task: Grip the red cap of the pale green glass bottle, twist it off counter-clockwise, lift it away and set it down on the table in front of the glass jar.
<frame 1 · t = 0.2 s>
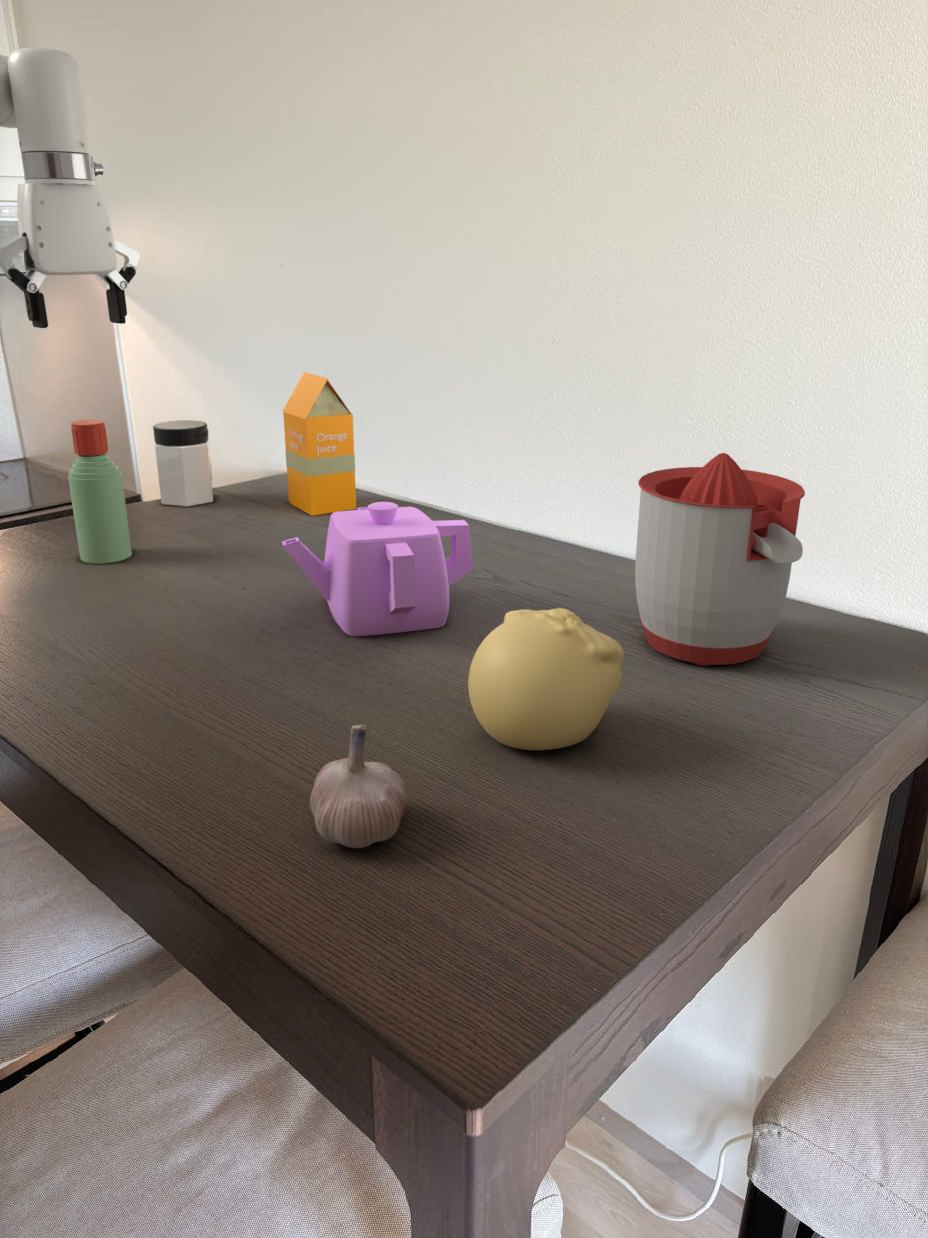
hand: (80, 324, 118), 29 cm above the table, tool pointing down, fingers open, 9 cm apart
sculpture: (539, 734, 81), on the table
orange juice: (322, 507, 149), on the table
bottle: (106, 556, 125), on the table
teakettle: (380, 611, 107), on the table
jar: (188, 501, 152), on the table
citrus juicer: (709, 649, 98), on the table
cap: (88, 425, 119), point 17 cm above the table, screwed on, not yet turned
garlic bulb: (361, 829, 68), on the table
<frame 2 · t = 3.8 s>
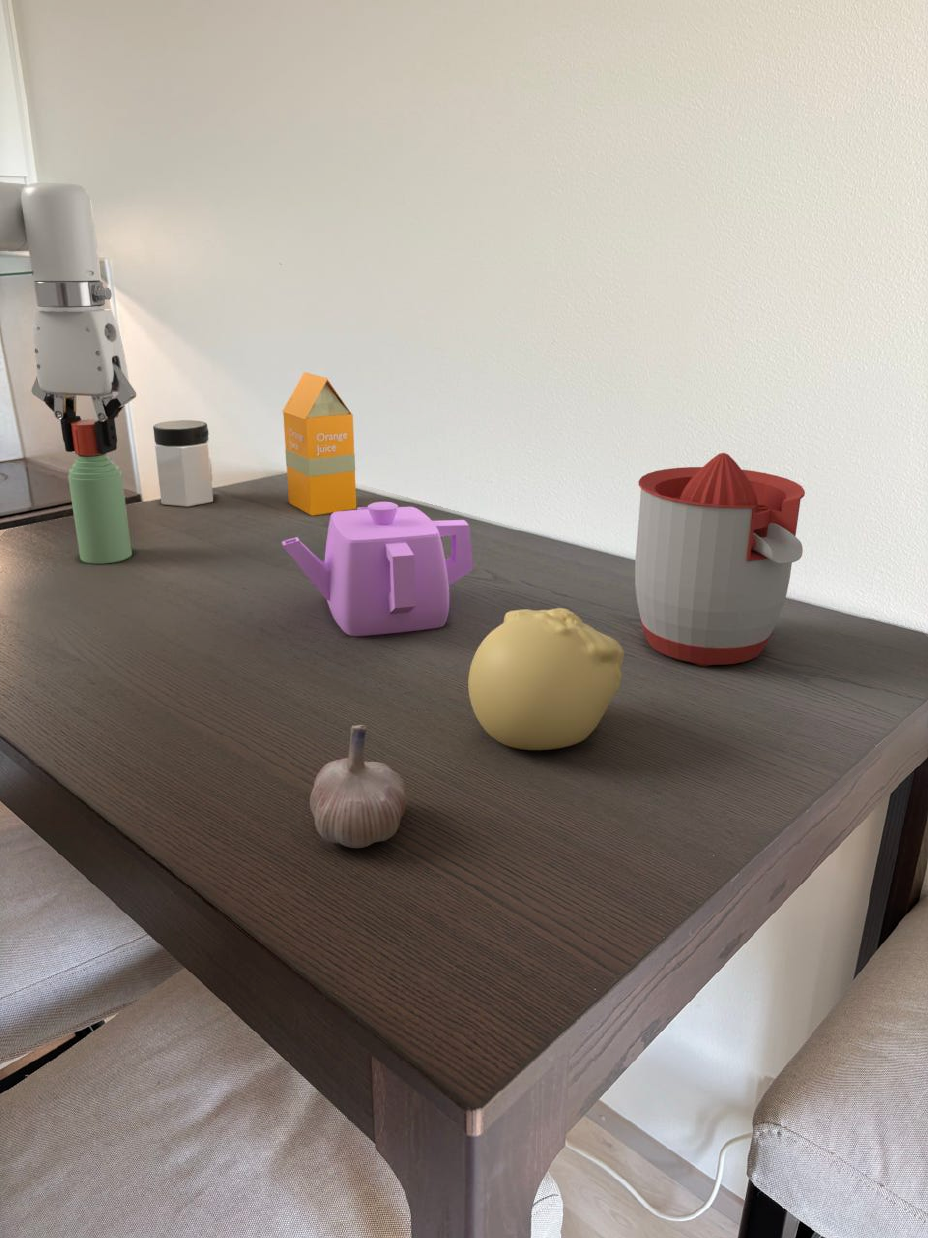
hand: (91, 449, 120), 14 cm above the table, tool pointing down, fingers closed on cap, 3 cm apart
cap: (88, 425, 119), point 17 cm above the table, screwed on, not yet turned, touching gripper
everything else where it was.
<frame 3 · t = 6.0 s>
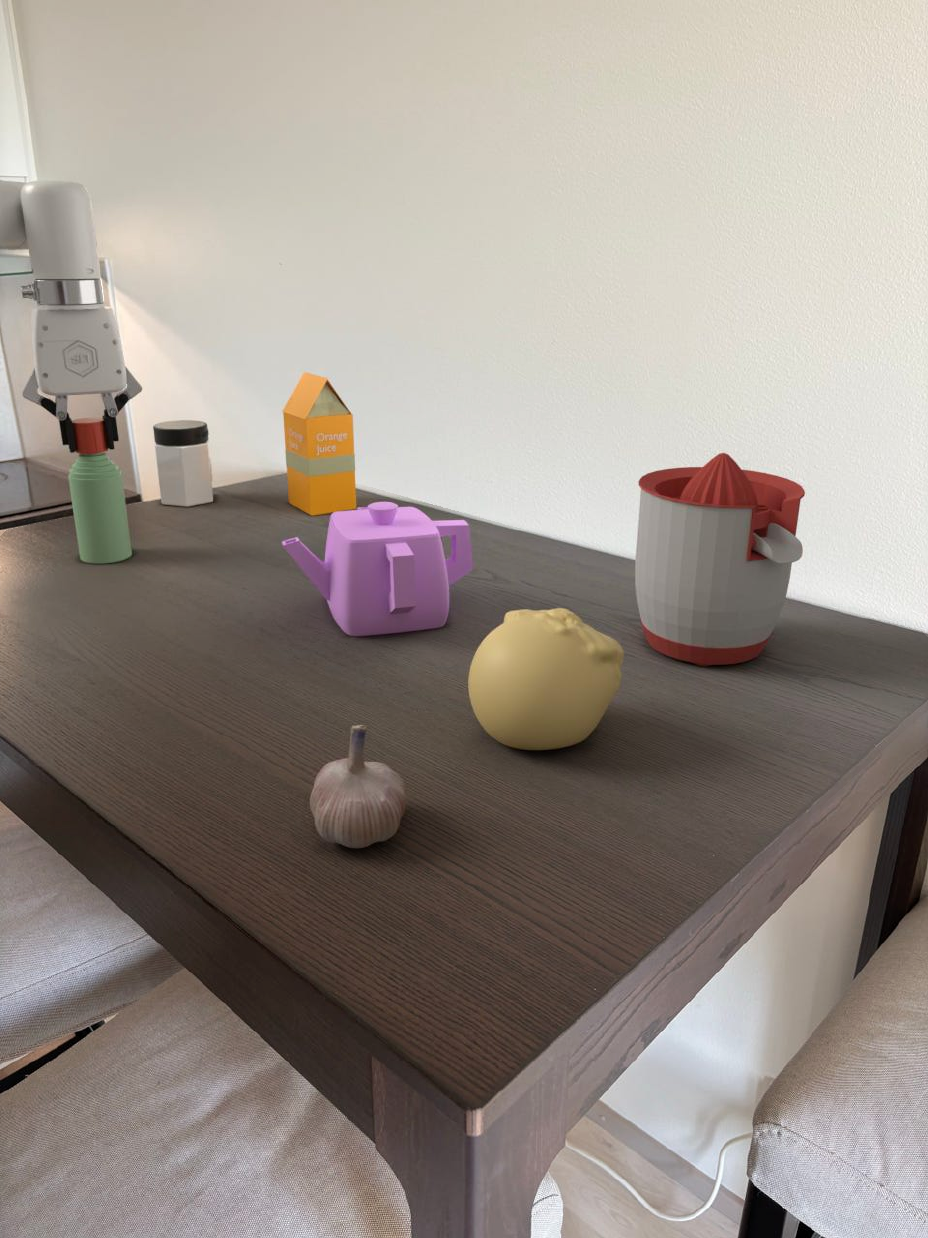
hand: (91, 447, 120), 14 cm above the table, tool pointing down, fingers closed on cap, 3 cm apart
cap: (88, 423, 119), point 17 cm above the table, turned 218° so far, risen 0.2 cm, still on its thread, touching gripper
everything else where it was.
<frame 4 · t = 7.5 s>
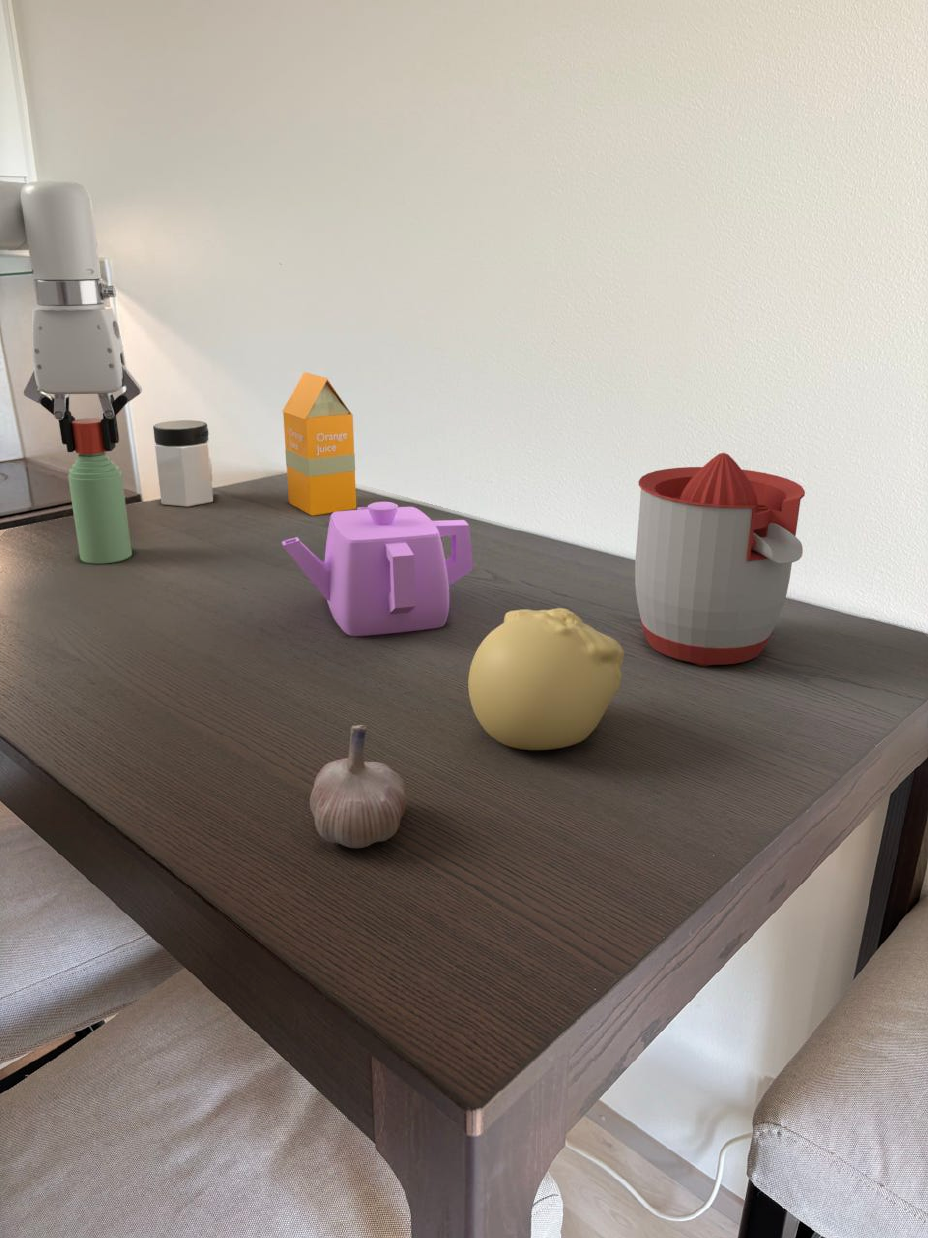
hand: (91, 448, 120), 14 cm above the table, tool pointing down, fingers closed on cap, 3 cm apart
cap: (88, 423, 119), point 17 cm above the table, off its thread, touching gripper
everything else where it was.
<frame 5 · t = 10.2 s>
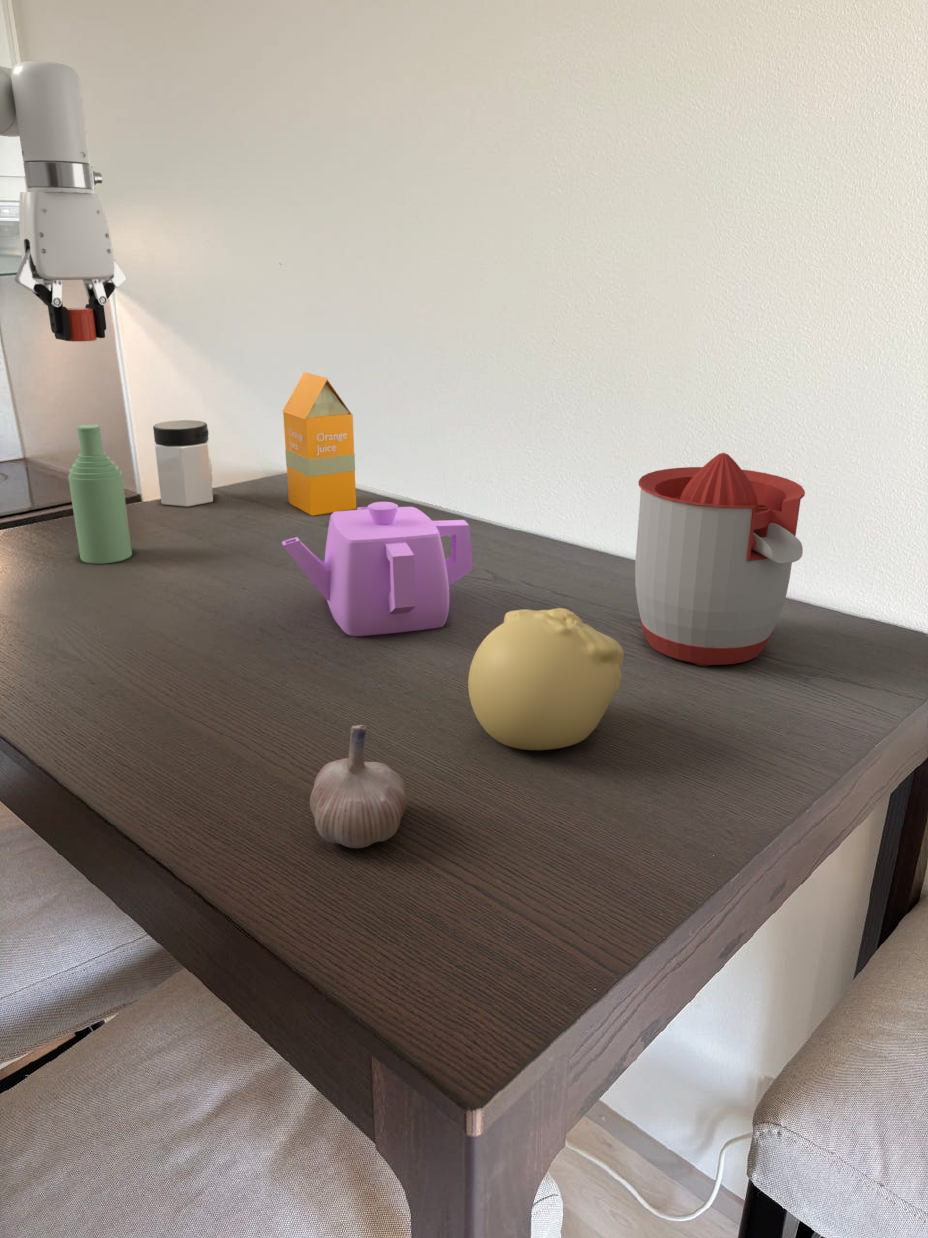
hand: (80, 336, 122), 27 cm above the table, tool pointing down, fingers closed on cap, 3 cm apart
cap: (76, 312, 121), point 30 cm above the table, off its thread, touching gripper
everything else where it was.
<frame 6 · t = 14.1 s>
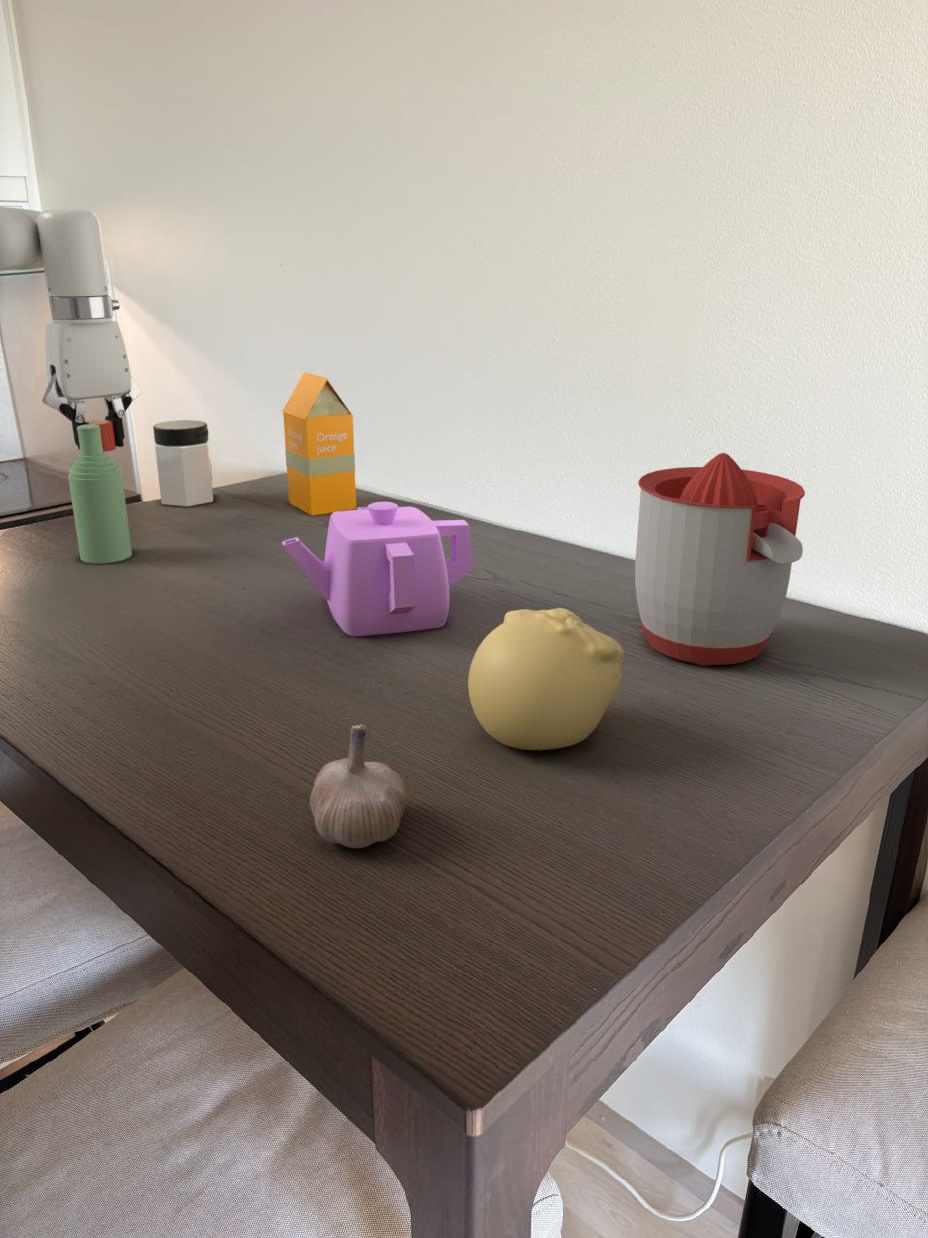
hand: (101, 446, 133), 12 cm above the table, tool pointing down, fingers closed on cap, 3 cm apart
cap: (98, 424, 132), point 15 cm above the table, off its thread, touching gripper
everything else where it was.
when the fingers open (0 cm above the table, at t = 16.9 s): cap stays where it is, point 3 cm above the table.
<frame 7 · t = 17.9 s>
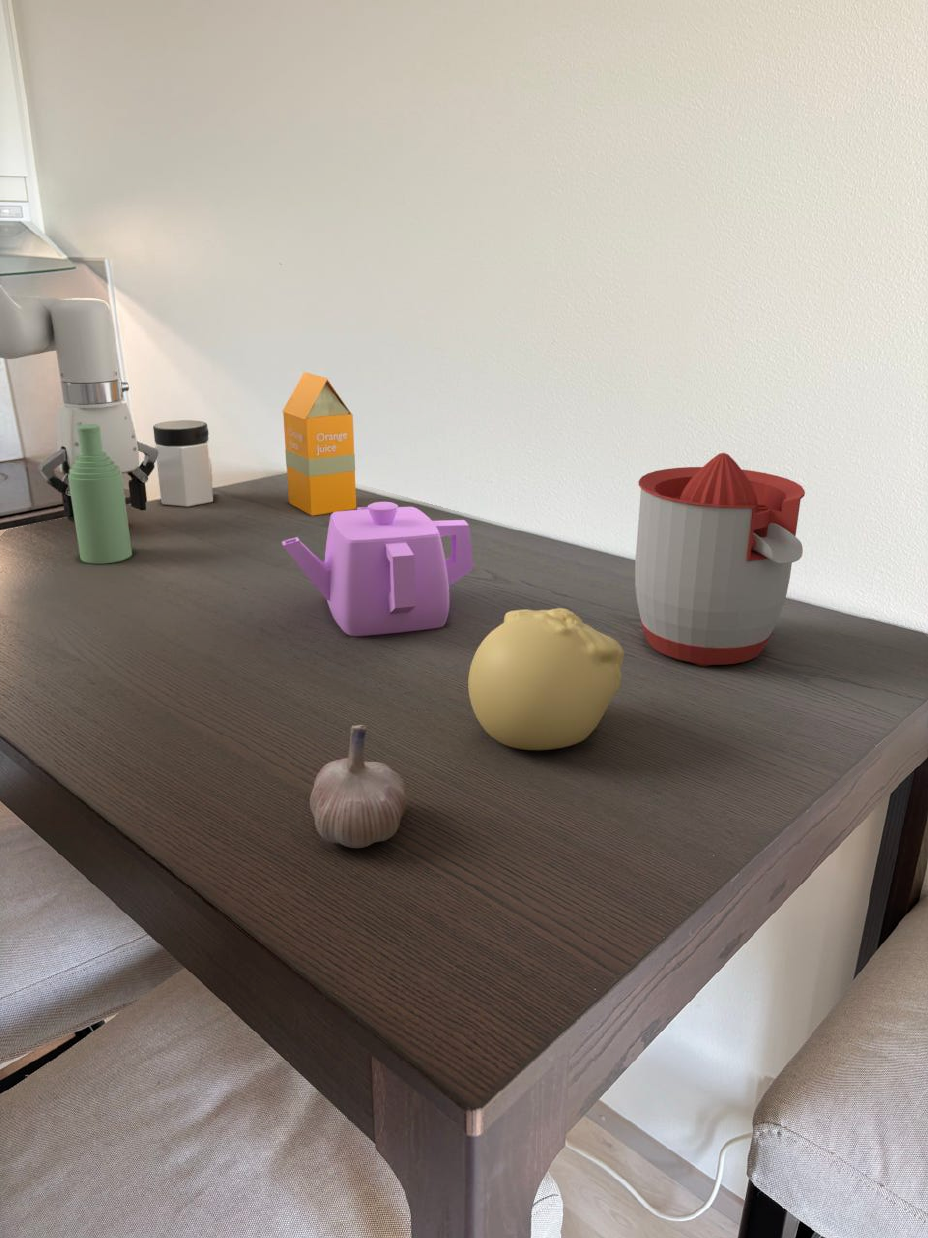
hand: (107, 514, 137), 2 cm above the table, tool pointing down, fingers open, 9 cm apart
cap: (108, 504, 136), point 3 cm above the table, off its thread
everything else where it was.
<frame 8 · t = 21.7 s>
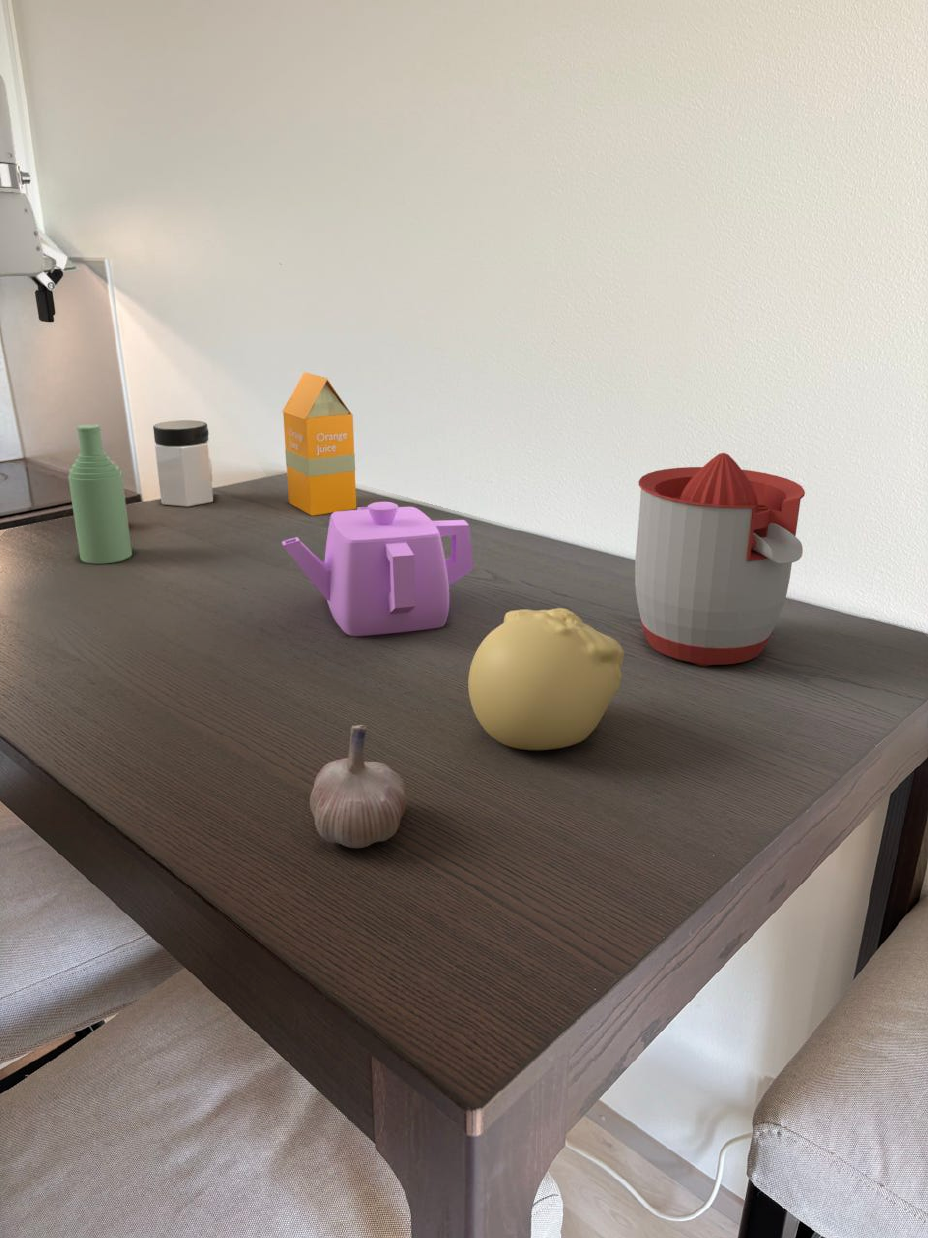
hand: (10, 323, 125), 28 cm above the table, tool pointing down, fingers open, 9 cm apart
nothing on the table moved.
at the end: the gripper is holding nothing; cap point 3.4 cm above the table; cap inside the target area on the table beside the jar (0.2 cm from its centre), point 3.6 cm above the table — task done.
